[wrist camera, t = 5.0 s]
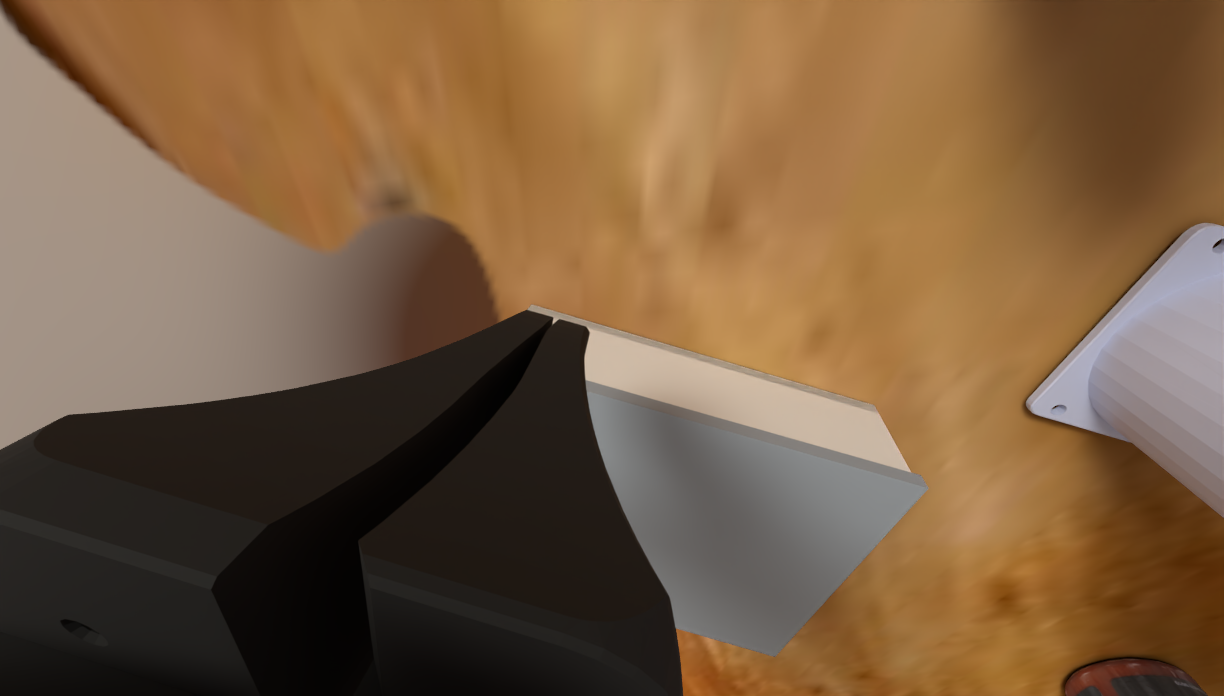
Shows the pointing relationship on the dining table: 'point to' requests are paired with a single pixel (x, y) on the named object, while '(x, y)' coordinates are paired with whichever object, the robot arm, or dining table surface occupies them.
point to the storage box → (734, 393)
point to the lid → (742, 514)
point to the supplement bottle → (1132, 680)
